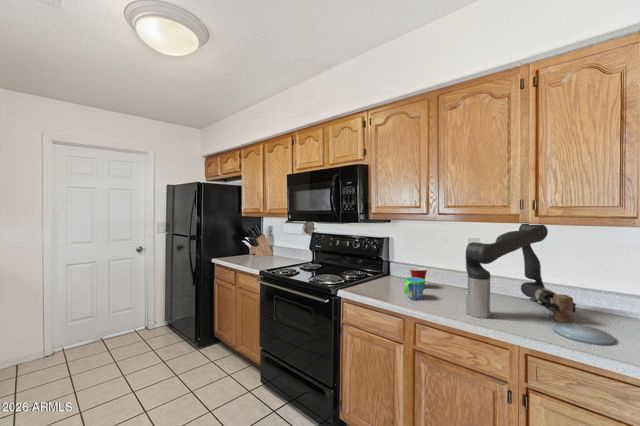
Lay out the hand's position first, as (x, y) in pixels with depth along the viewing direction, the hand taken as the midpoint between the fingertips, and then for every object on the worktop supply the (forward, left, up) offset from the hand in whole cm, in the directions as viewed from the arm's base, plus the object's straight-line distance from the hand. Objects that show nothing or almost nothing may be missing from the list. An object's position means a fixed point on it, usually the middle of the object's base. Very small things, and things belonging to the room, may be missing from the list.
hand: (566, 309), depth 127 cm
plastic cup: (-71, +15, -6) cm, 73 cm away
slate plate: (+5, -11, -6) cm, 13 cm away
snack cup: (-64, -7, -6) cm, 65 cm away
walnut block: (-1, +2, -6) cm, 7 cm away
